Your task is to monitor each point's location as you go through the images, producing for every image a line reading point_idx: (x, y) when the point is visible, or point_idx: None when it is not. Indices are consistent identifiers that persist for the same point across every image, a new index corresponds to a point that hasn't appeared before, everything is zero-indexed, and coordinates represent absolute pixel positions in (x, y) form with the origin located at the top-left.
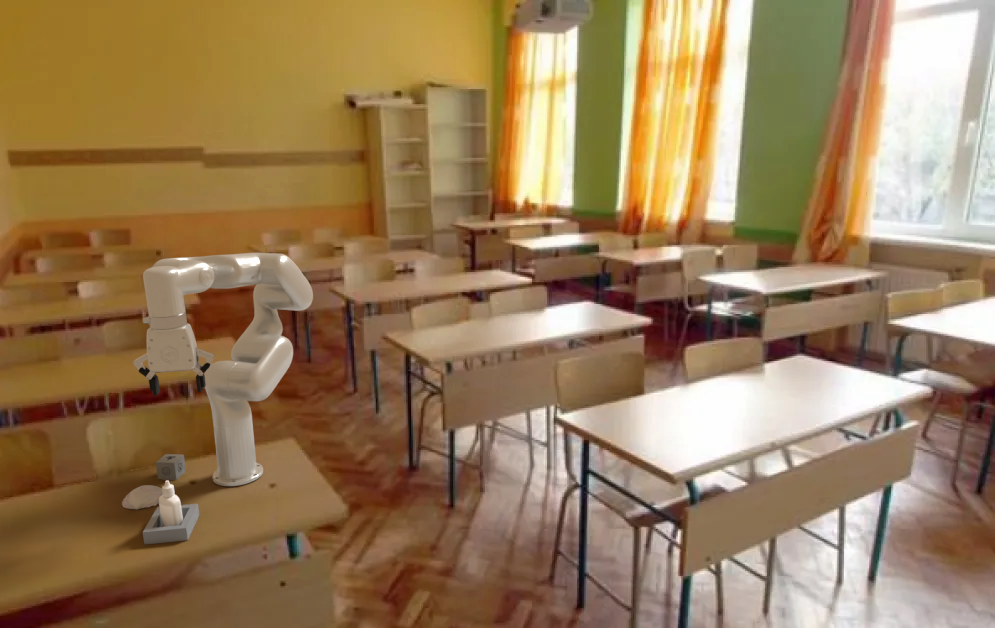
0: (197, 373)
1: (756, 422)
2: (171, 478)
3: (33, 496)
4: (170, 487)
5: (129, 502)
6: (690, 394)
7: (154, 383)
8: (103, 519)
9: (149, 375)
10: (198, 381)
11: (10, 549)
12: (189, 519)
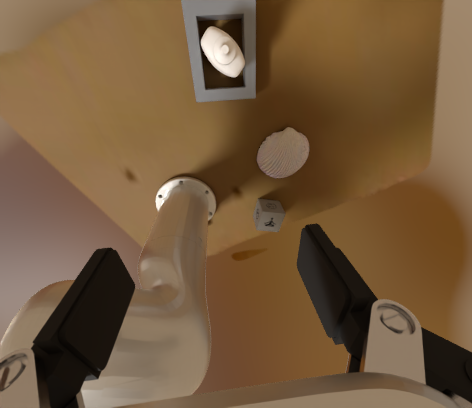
0: (30, 371)
1: None
2: (264, 200)
3: (405, 175)
4: (216, 42)
5: (299, 135)
6: None
7: (335, 276)
8: (325, 105)
9: (401, 335)
10: (65, 301)
11: (439, 26)
12: (188, 40)
